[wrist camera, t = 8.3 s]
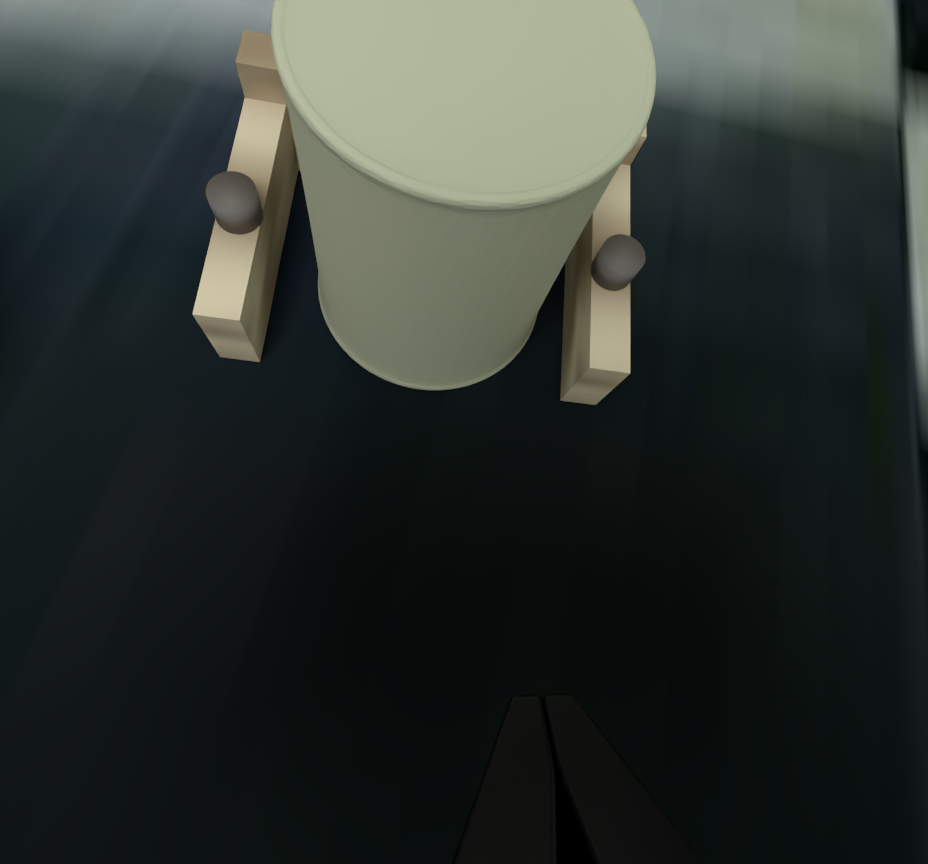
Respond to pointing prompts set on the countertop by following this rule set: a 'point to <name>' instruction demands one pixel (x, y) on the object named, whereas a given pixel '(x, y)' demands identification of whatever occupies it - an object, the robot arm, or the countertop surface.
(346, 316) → the can
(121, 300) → the countertop surface
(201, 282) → the frame
